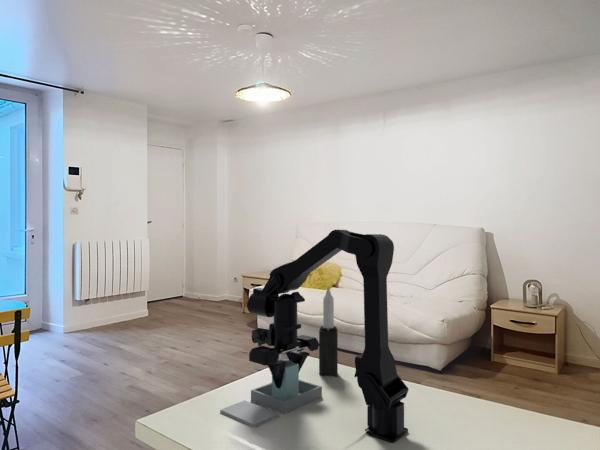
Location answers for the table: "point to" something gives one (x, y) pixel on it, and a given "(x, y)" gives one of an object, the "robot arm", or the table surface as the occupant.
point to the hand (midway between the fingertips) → (285, 385)
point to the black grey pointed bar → (328, 339)
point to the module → (287, 382)
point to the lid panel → (249, 413)
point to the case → (305, 396)
